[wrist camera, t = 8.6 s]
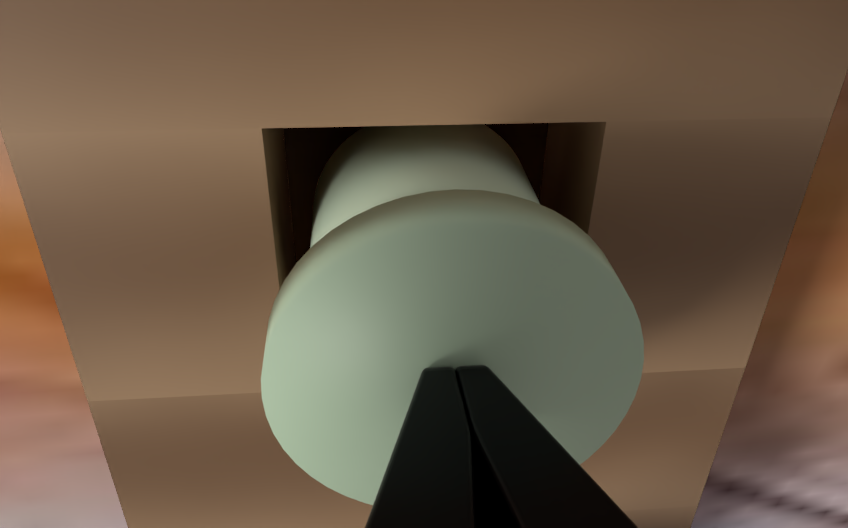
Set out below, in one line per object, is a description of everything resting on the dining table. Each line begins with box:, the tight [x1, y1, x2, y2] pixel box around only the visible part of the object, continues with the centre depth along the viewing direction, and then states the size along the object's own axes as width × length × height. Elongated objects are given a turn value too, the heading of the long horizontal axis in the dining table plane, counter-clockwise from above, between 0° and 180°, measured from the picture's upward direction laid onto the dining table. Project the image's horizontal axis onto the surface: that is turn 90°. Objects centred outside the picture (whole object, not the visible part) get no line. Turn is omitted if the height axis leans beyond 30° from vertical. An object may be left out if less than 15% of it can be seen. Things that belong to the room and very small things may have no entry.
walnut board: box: [0, 0, 848, 528], centre depth 13 cm, size 28×12×3 cm, turn 179°
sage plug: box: [261, 124, 644, 505], centre depth 11 cm, size 5×5×5 cm
